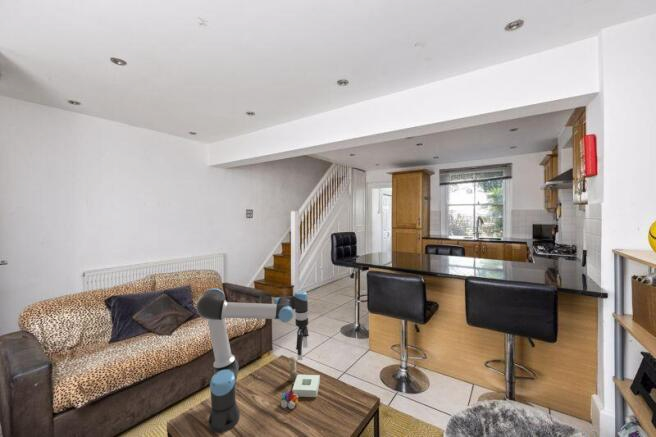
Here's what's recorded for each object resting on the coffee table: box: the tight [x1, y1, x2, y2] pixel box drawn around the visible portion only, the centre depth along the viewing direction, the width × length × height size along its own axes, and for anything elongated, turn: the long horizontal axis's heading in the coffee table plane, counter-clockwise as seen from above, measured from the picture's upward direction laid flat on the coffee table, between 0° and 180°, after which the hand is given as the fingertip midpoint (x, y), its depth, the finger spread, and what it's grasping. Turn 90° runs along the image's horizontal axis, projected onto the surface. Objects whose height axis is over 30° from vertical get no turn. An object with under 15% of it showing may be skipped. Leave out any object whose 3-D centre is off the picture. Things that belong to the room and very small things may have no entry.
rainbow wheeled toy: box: [280, 390, 299, 410], centre depth 151 cm, size 8×10×7 cm
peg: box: [289, 355, 297, 383], centre depth 173 cm, size 4×4×14 cm
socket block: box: [291, 373, 321, 398], centre depth 164 cm, size 14×14×4 cm
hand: (302, 353), depth 162 cm, fingers open, 13 cm apart
